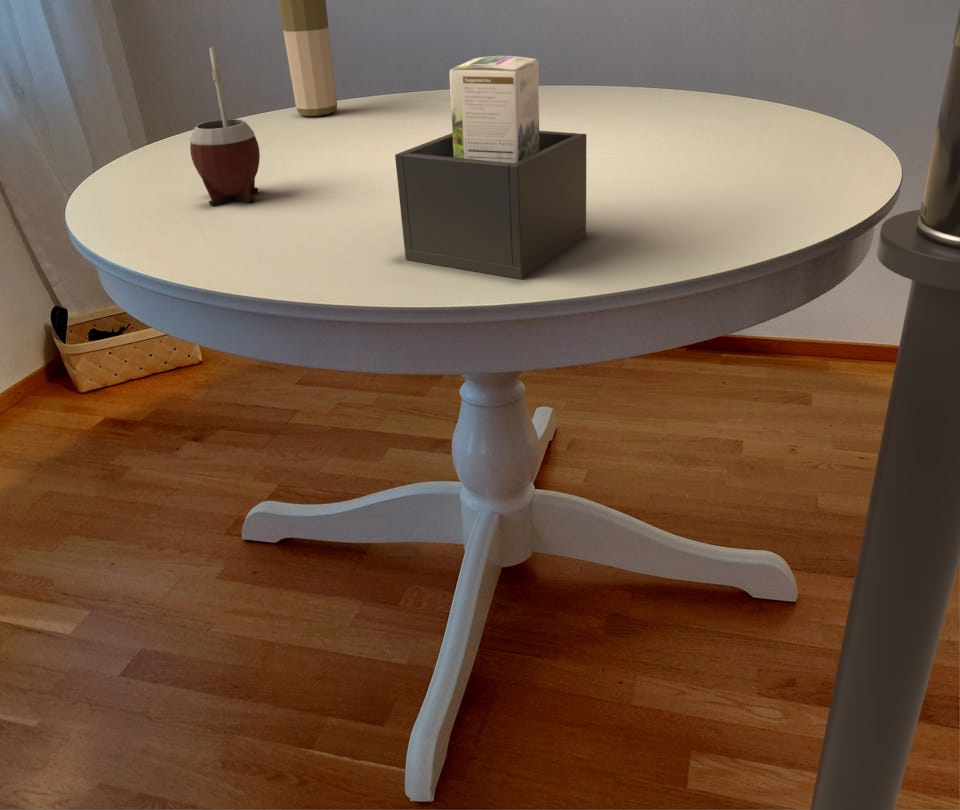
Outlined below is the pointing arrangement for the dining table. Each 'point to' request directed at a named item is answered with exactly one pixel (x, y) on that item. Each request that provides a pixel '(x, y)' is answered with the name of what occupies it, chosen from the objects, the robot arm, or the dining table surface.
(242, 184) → the mate gourd
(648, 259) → the dining table surface
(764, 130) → the dining table surface
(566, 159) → the waste bin
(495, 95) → the syrup box
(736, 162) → the dining table surface
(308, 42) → the bottle
